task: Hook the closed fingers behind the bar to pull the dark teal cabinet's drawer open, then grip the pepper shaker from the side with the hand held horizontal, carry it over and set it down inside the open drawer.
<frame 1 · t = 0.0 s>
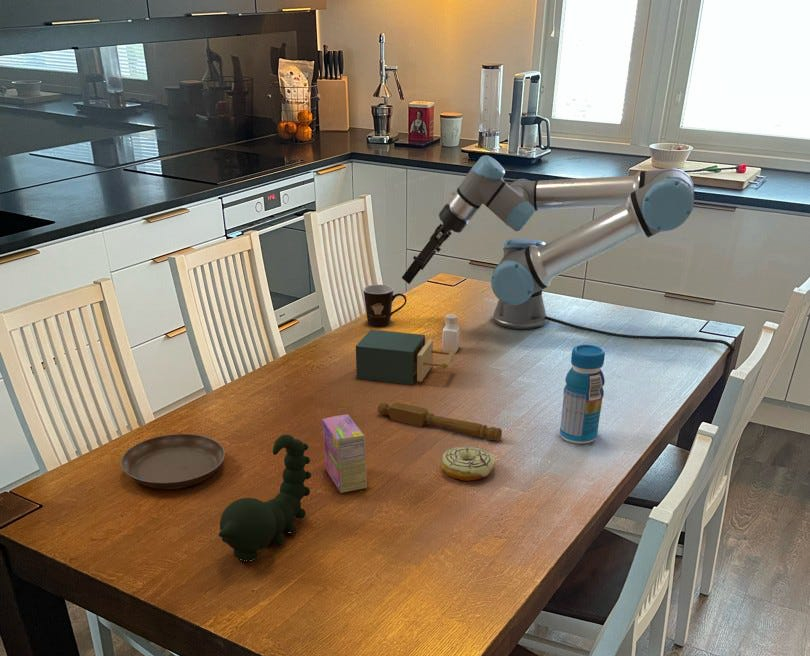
hand: (412, 273, 237), 15 cm above the table, tool tilted 35°, fingers open, 13 cm apart
plant saucer: (175, 471, 176), on the table
coffee mug: (383, 324, 248), on the table
beverage bottle: (578, 437, 188), on the table
pepper shaker: (450, 351, 231), on the table
box: (345, 480, 173), on the table
cabinet: (391, 372, 218), on the table
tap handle: (437, 427, 192), on the table
decorated donut: (467, 472, 175), on the table
toy figurine: (268, 542, 154), on the table
drawer: (413, 359, 214), point 4 cm above the table, slide at 1.0 cm
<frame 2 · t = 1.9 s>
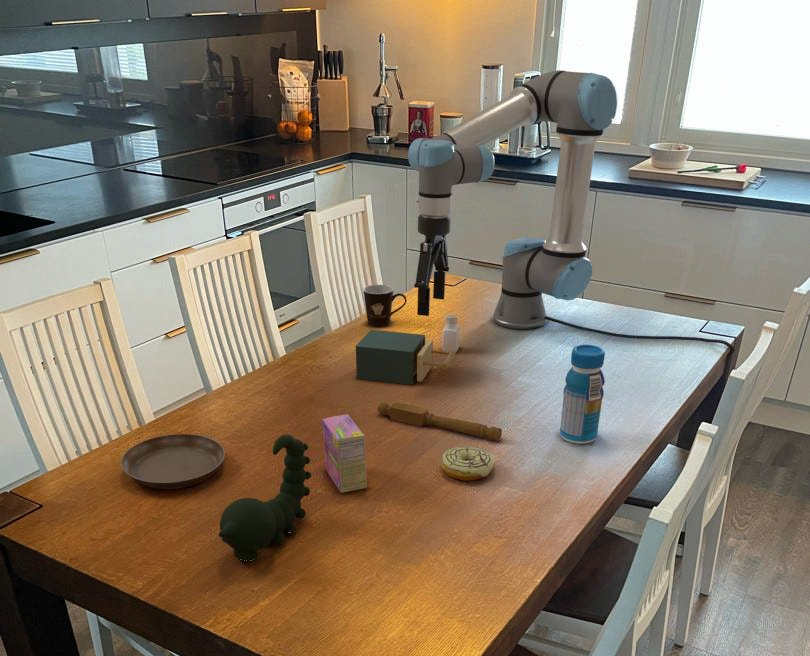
hand: (431, 306, 207), 18 cm above the table, tool pointing down, fingers open, 13 cm apart
nothing on the table moved.
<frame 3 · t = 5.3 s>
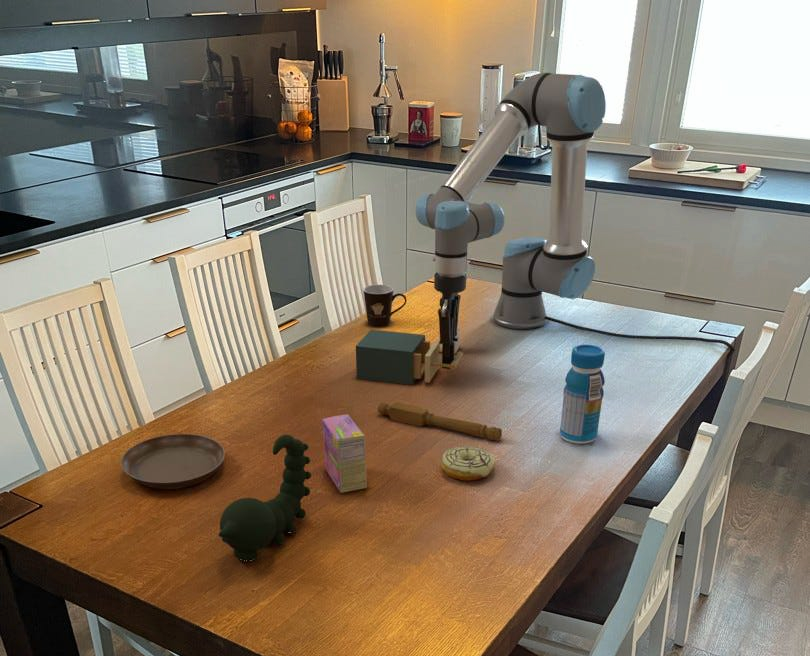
hand: (447, 367, 213), 3 cm above the table, tool pointing down, fingers closed
drawer: (420, 359, 214), point 4 cm above the table, slide at 3.0 cm, touching gripper
everything else where it was.
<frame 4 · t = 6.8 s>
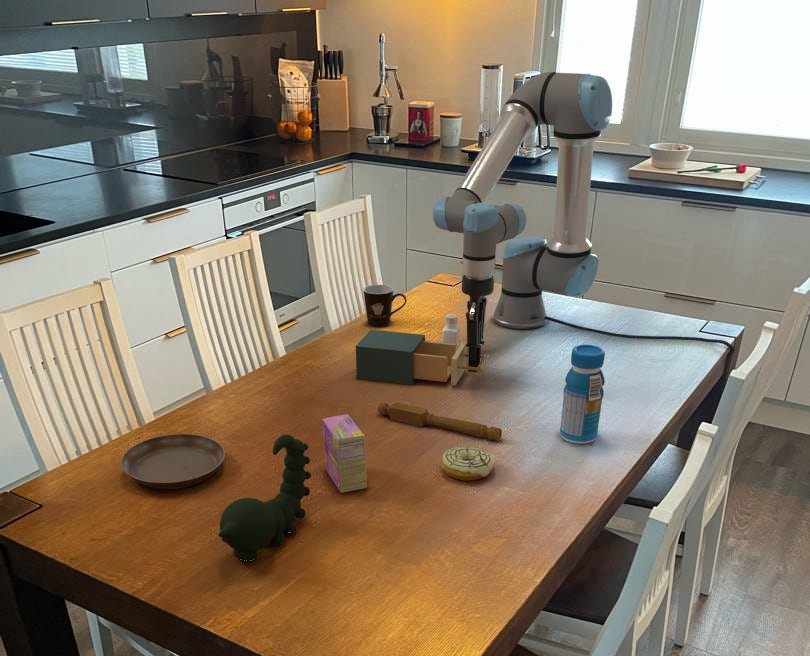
hand: (473, 370, 212), 3 cm above the table, tool pointing down, fingers closed
drawer: (446, 362, 212), point 4 cm above the table, slide at 9.6 cm, touching gripper
everything else where it was.
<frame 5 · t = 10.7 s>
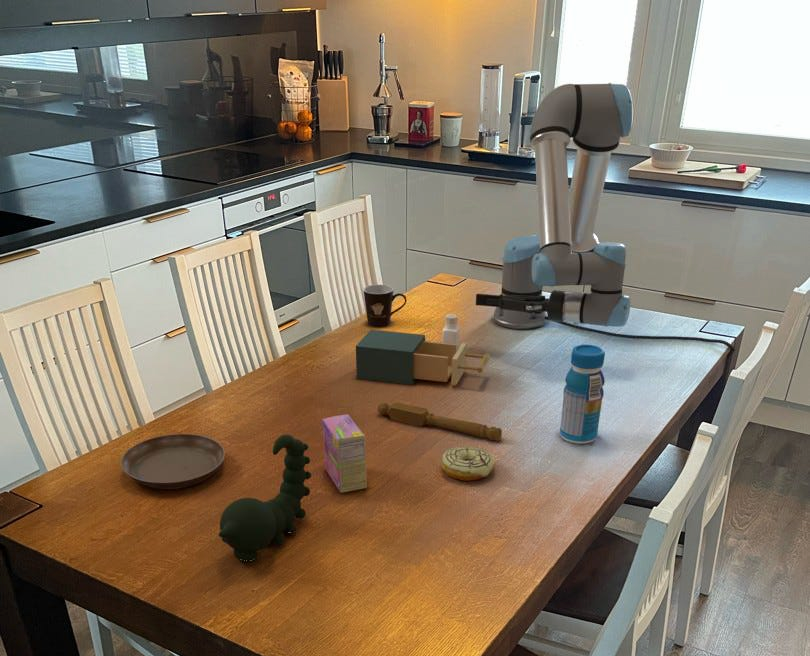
hand: (476, 299, 222), 14 cm above the table, tool horizontal, fingers closed
drawer: (447, 362, 212), point 4 cm above the table, slide at 9.7 cm
everything else where it was.
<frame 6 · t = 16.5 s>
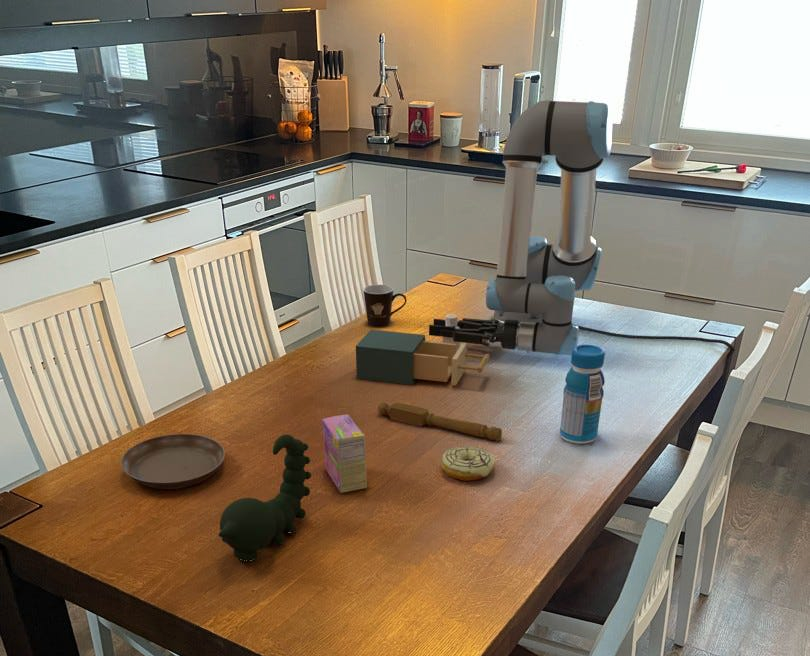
hand: (431, 326, 229), 6 cm above the table, tool horizontal, fingers closed on pepper shaker, 4 cm apart
pepper shaker: (450, 351, 231), on the table, touching gripper
everything else where it was.
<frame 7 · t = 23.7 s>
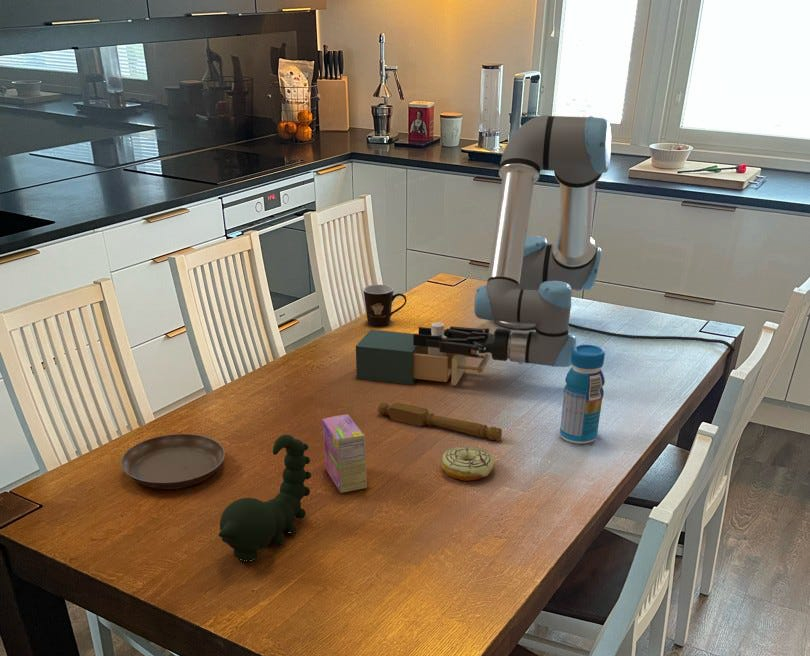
hand: (416, 336, 211), 10 cm above the table, tool horizontal, fingers closed on pepper shaker, 4 cm apart
pepper shaker: (437, 362, 213), point 4 cm above the table, touching gripper
everything else where it was.
when the fingers open (11 cm above the table, at t = 27.6 s): pepper shaker drops 3 cm, resting on drawer.
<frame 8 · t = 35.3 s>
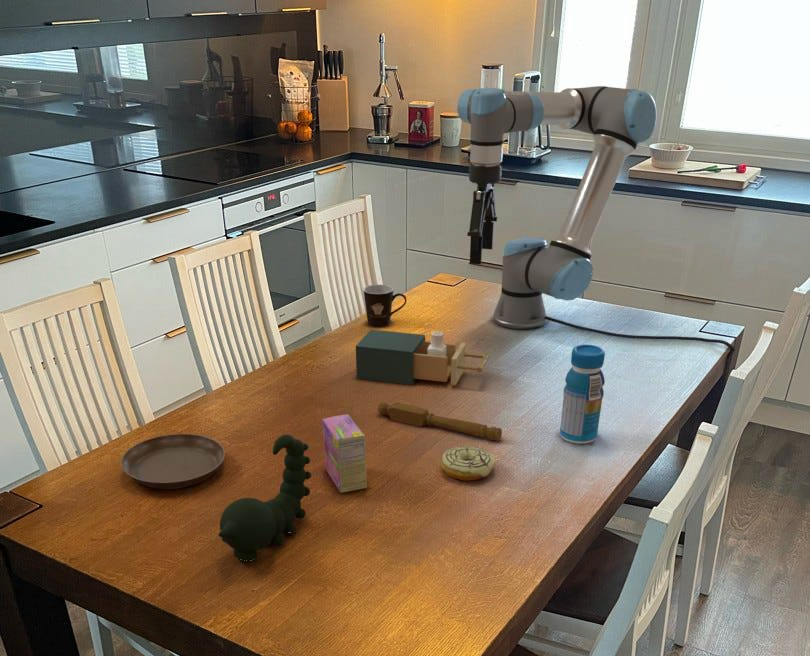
hand: (481, 256, 211), 27 cm above the table, tool pointing down, fingers open, 13 cm apart
pepper shaker: (436, 370, 215), point 2 cm above the table, touching drawer
drawer: (446, 362, 212), point 4 cm above the table, slide at 9.6 cm, touching pepper shaker
everything else where it was.
at the end: drawer slide at 9.6 cm; pepper shaker inside the target area in the drawer (0.4 cm from its centre), point 1.8 cm above the cabinet's base; the gripper is holding nothing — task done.
